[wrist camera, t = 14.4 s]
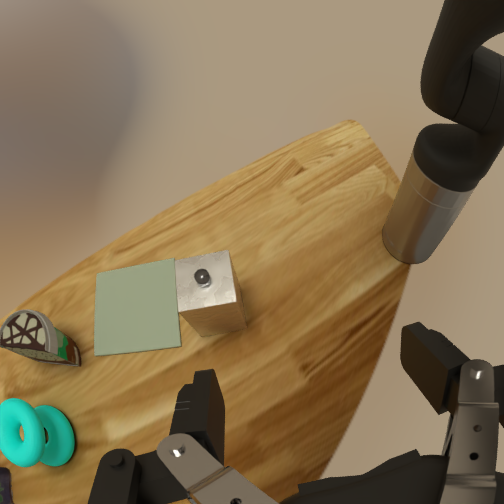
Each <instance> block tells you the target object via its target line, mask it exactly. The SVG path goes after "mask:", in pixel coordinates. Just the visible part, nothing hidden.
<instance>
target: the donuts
mask: <svg viewBox="0 0 504 504" xmlns="http://www.w3.org/2000/svg"><path fill="white" fill-rule="evenodd" d="M21 425H22V427H23V430H24V441H22V439H21V437H20V433H19V429H20V426H21ZM44 428H45V429H46V430H47V432H48V437H49V438H48V442H47V444H45V443H46V439H45V431H44ZM74 445H75V440H74V433H73V430H72V427H71V425H70V423H69V421H68V419H67V418H66V417H65V416H64V414H63V413H62V412H60V411H59V410H58V409H56V408H54V407H52V406H48V405H41V406H38V407H36V408H33V407H32V406H31V405H29V404H28V403H27V402H25V401H23V400H21V399H17V398H11V399H7V400H5V401H4V402H3V403H1V405H0V449H1V451H2V453H3V454H4V455H5V457H6V458H7V459H8V460H10V461H11V462H12V463H14V464H15V465H18V466H21V467H30V466H33V465H35V464H36V463H38V462H39V461H41V462H42V463H44V464H46V465H49V466H61V465H63V464H65V463H66V462H67V461H68V460H69V459H70V458H71V456H72V454H73V451H74Z"/></svg>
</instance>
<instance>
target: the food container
mask: <svg viewBox="0 0 504 504" xmlns="http://www.w3.org/2000/svg"><path fill="white" fill-rule="evenodd" d="M0 347H2V348H5V349H8V350H10V351H13V352H15V353H18V354H20V355H23V356H25V357H28V358H30V359H33V360H36V361H38V362H44V363H52V364H60V365H70V366H80V367H81V357H80V352H79V349H78V347H77V345H76V343H75V342H74V341H73V340H72V339H71V338H69V337H68V336H67V335H65V334H64V333H62V332H61V331H59V330H58V329H56V328H55V327H54V326H53V324H52V323H51V321H50V320H49V319H48V318H47V317H46V316H45V315H44V314H42V313H40V312H37V311H33V310H19V311H16V312H15V313H13V314H12V315H10V316H9V317H8V318H7V319H6V321H5V322H4V323H3V325H2V327H1V328H0Z"/></svg>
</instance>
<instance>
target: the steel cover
mask: <svg viewBox="0 0 504 504" xmlns="http://www.w3.org/2000/svg"><path fill="white" fill-rule="evenodd" d="M175 274H176V288H177V302H178V312H179V313H180V314H181V315H182V316H183V318H184V319H185V320H186V321H187V322H188V323H189V324H190V325H191V326H192V327H193V328H194V330H195V331H196V332H197V333H198V334H199V335H200V336H201V337H205V336H211V335H217V334H223V333H228V332H234V331H239V330H245V329H247V324H246V318H245V313H244V307H243V301H242V295H241V290H240V285H239V282H238V279H237V276H236V273H235V269H234V266H233V263H232V260H231V257H230V254H229V250H225V251H220V252H215V253H210V254H205V255H200V256H195V257H190V258H185V259H180V260H175Z"/></svg>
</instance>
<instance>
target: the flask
mask: <svg viewBox="0 0 504 504" xmlns="http://www.w3.org/2000/svg"><path fill="white" fill-rule="evenodd" d="M11 487H12V485H11V473H10V471H9V470H8V469H7V468H4V467H0V504H14V503H13V492H12V490H11Z"/></svg>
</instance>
